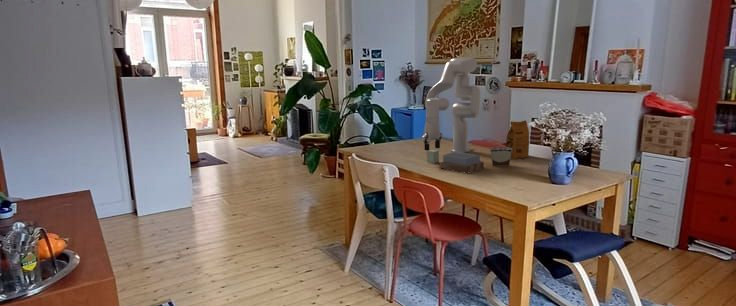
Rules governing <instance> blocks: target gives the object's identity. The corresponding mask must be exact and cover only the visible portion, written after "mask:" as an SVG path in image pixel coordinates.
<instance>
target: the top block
mask: <svg viewBox="0 0 736 306" xmlns="http://www.w3.org/2000/svg"><path fill="white" fill-rule="evenodd" d="M480 161H481V155H480V154H473V153H469V152H465V153H462V152H450V153H446V154H443V155H442V162H446V163H451V164H456V165H462V166H470V165H473V164H476V163H480Z"/></svg>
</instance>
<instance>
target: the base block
mask: <svg viewBox="0 0 736 306" xmlns="http://www.w3.org/2000/svg"><path fill="white" fill-rule="evenodd" d="M484 166H485V164H484V161H481V160H480V163H476V164H473V165H470V166H462V165H456V164H451V163H446V162H443V161H442V162H439V169H440V168H443V169H442V170H445V169H448V170H447V171H450V170H454V171H453V172H455V171H459V172H458V173H461V172H465V173H464V174H466V173H467V174H469V173H468V172H470V173H473V172H476V171H478V170H482V169H484V168H485V167H484ZM475 170H476V171H475ZM472 171H473V172H472Z"/></svg>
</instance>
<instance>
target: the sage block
mask: <svg viewBox="0 0 736 306" xmlns="http://www.w3.org/2000/svg"><path fill="white" fill-rule="evenodd" d="M428 162H429V163H428ZM436 162H437V163H440V151H439V150H437V149H429V151H427V150H426V163H428V164H433V163H434V164H437V163H436Z"/></svg>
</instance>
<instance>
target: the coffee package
mask: <svg viewBox="0 0 736 306" xmlns="http://www.w3.org/2000/svg"><path fill="white" fill-rule="evenodd" d="M505 141H506V142H505V147H509V148H512V151H513V152H511V159H513V160H515V159H525V158H528V157H529V153H530V130H529V127H528V123H527V120H522V121H513V120H511V121H510V127H509V130H508V132H507V135H506V139H505Z"/></svg>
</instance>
